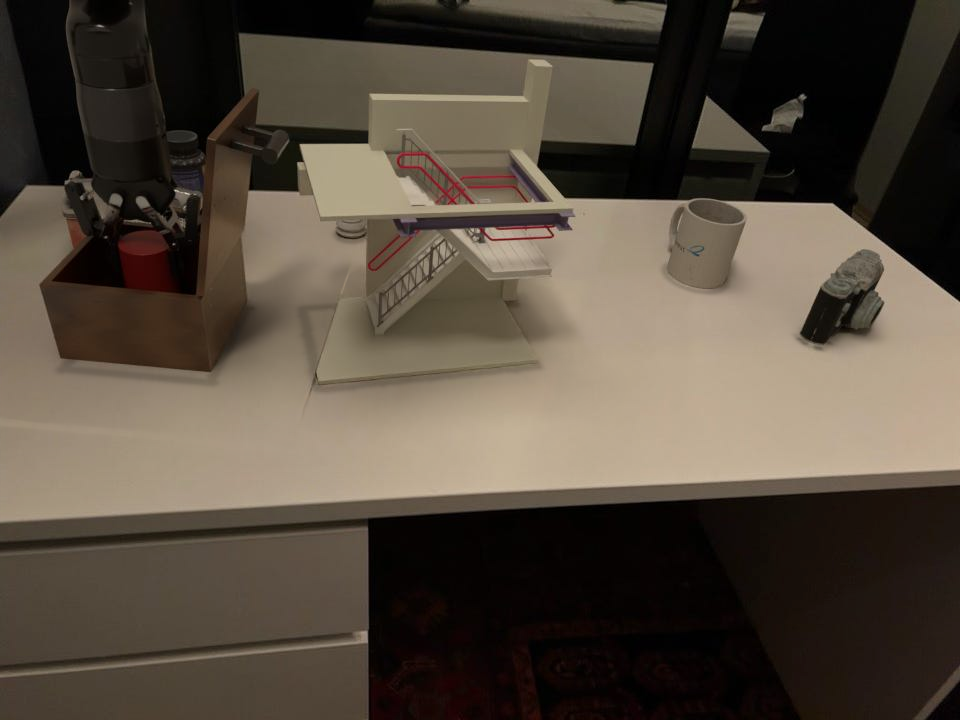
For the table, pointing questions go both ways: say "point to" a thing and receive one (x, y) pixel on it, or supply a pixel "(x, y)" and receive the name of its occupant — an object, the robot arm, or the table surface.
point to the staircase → (438, 230)
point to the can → (146, 262)
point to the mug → (704, 241)
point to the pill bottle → (185, 163)
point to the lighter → (72, 216)
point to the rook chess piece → (351, 228)
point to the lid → (230, 183)
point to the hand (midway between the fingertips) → (150, 271)
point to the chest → (141, 310)
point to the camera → (846, 298)
